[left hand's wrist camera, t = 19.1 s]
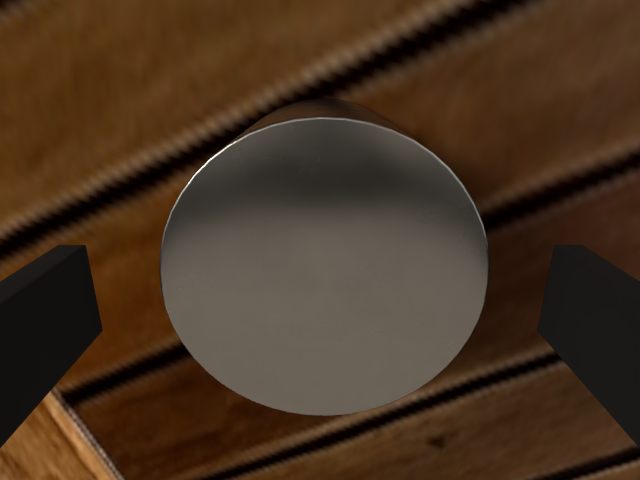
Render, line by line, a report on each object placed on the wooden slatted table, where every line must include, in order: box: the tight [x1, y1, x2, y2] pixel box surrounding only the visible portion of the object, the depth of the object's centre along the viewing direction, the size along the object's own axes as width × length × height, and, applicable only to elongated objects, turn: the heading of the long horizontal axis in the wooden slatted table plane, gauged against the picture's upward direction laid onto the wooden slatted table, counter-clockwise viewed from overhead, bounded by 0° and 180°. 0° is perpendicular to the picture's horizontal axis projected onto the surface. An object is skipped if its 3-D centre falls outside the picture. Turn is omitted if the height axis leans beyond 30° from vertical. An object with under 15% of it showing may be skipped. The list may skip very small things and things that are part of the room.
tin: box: [159, 98, 490, 416], centre depth 16 cm, size 9×9×8 cm
